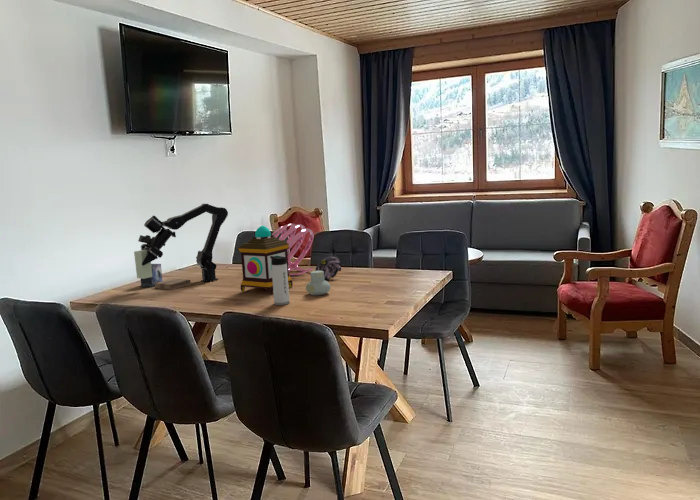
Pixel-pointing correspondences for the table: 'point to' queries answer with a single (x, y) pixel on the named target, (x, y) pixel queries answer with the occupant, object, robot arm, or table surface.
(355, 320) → the table surface
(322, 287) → the air freshener
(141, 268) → the sage block
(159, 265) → the small box
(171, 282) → the block
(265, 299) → the table surface
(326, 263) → the decorative flower
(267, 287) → the decorative lantern
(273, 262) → the travel mug
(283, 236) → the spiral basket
